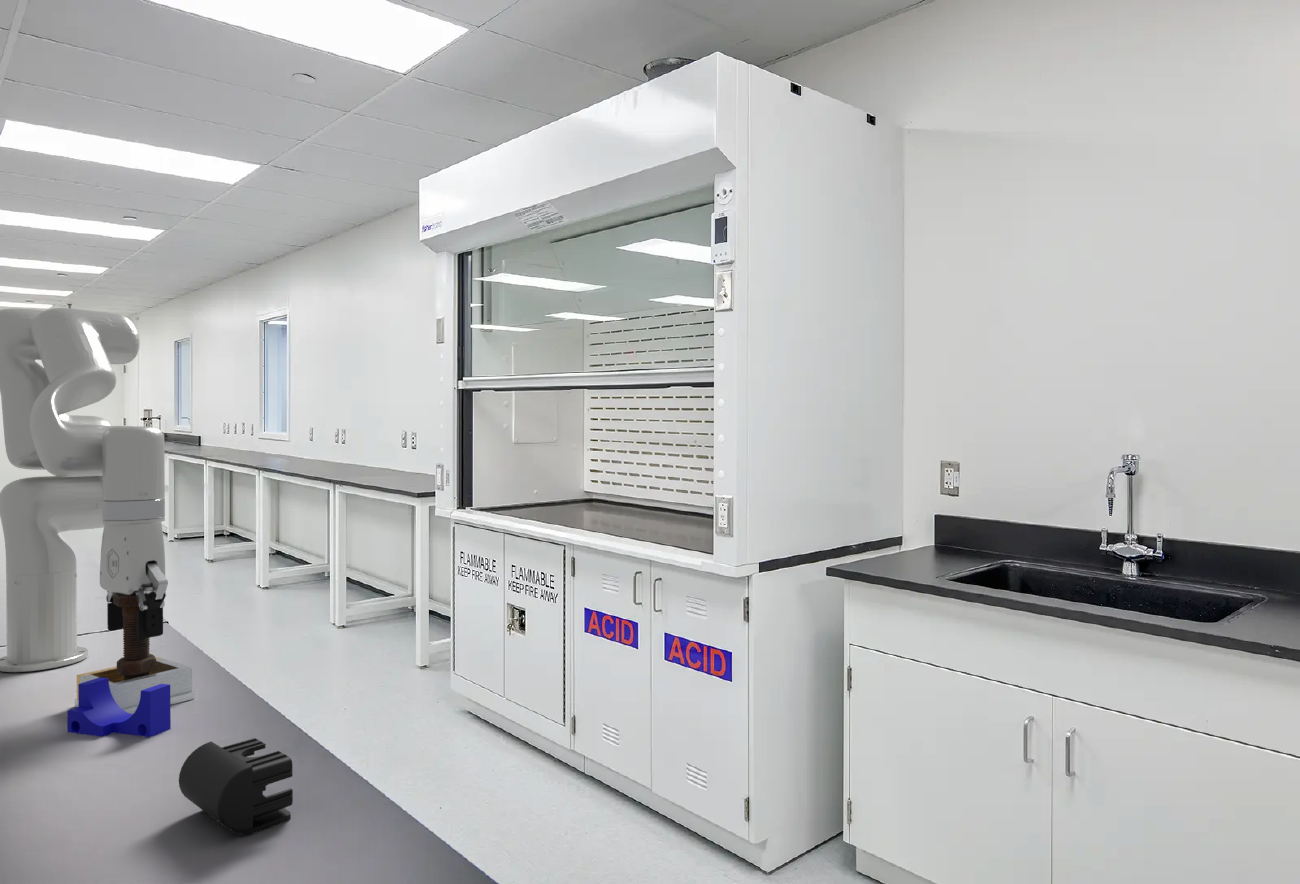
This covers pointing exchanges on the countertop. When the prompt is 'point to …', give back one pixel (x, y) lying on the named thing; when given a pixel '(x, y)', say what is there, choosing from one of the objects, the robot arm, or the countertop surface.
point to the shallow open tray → (145, 683)
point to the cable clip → (119, 711)
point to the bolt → (133, 641)
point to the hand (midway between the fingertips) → (135, 632)
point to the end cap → (238, 785)
